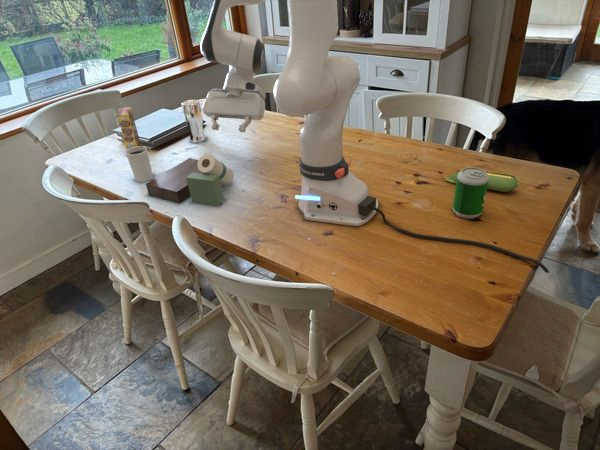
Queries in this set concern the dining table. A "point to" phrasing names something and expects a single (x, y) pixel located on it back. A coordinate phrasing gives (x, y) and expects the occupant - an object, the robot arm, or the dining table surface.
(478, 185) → the soda can
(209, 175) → the green block
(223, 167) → the paper roll
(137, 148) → the white cup
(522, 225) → the dining table surface
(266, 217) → the dining table surface
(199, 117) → the beer glass
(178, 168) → the chopping block
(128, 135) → the candy box
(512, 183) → the edible corn
